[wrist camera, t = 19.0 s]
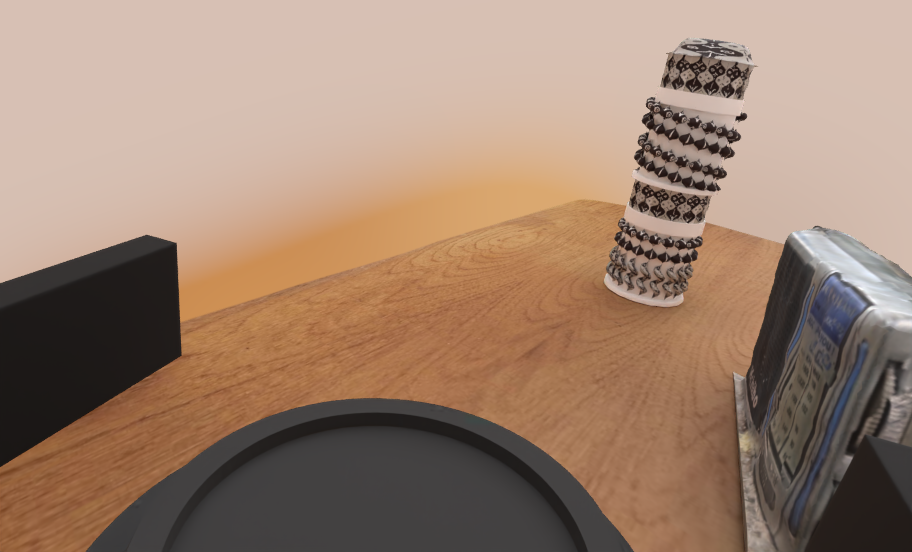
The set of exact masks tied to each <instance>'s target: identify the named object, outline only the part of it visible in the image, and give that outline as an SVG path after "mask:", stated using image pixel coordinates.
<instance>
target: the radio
mask: <svg viewBox="0 0 912 552" xmlns="http://www.w3.org/2000/svg"><path fill="white" fill-rule="evenodd" d="M733 375H734V391H735V406H736V421H737V437H738V452H739V467H740V482H741V498H742V513H743V528H744V543H745V552H805V550H806V548H807V546H808V544H809V542H810V540H811V538H812V536H813V534H814V532H815V530H816V528H817V526H818V524H819V522H820V521H821V519H822V517H823V515H824V513H825V511H826V509H827V507H828V505H829V503H830V501H831V499H832V497H833V495H834V493H835V491H836V489H837V488H838V486H839V484H840V482H841V480H842V478H843V476H844V474H845V472H846V470H847V468H848V466H849V464H850V462H851V460H852V458H853V456H854V455H855V453H856V451H857V449H858V447H859V445H860V443H861V441H862V439H863V437H864V435H865V434H866V435H870V436H873V437H877V438H881V439H884V440H888V441H891V442H895V443H899V444H902V445H906V446H910V447H912V277H911V276H909V274H908V273H906V272H905V271H904V270H903V269H901V268H900V267H899V266H898V265H897V264H895V263H893V262H891V261H889V260H887V259H886V258H885V257H883V256H882V255H878V254H877V253H876V252H874V251H872V250H870V249H869V248H868V247H866V246H865V245H864V244H863V243H861V242H860V241H858V240H857V239H855V238H853V237H852V236H850V235H848V234H845V233H843V232H840V231H836V230H831V229H826V228H822V227H820V226H815V227H813V229H809V230H804V231H796V232H793V233H791V234H790V235H789V236H788V238H787V240H786V242H785V245H784V249H783V252H782V255H781V258H780V260H779V263H778V267H777V270H776V273H775V279H774V284H773V287H772V290H771V294H770V296H769V301H768V304H767V307H766V312H765V316H764V321H763V324H762V327H761V330H760V333H759V337H758V339H757V342H756V345H755V347H754V351H753V357H752V362H751V366H750V368H749V370H748V372H747V375H746V377H745V378H744V377H743V376H741V375H739V374H737V373H735V372H734V371H733Z"/></svg>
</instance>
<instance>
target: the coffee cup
mask: <svg viewBox="0 0 912 552" xmlns="http://www.w3.org/2000/svg"><path fill="white" fill-rule="evenodd" d="M86 552H634V551H633V550H632V548H631V547H630V545H629V544H628V542H627V541H626V540H625V539H624V537H623V536H622V535H621V534H620V532H619V531H618V530H617V529H616V527H615V526H614V525H613V524H612V523H611V522H610V521H609V520H608V519H607V517H606V516H605V515H604V514H603V513H602V511H601V510H600V508H599V507H598V505H597V504H596V502H595V501H594V500H593V499H592V497H591V496H590V495H589V493H588V492H587V491H586V490H585V489H584V488H583V486H582V485H581V484H580V483H579V482H578V481H577V480H576V479H575V478H574V477H573V476H572V475H571V474H570V473H569V472H568V471H567V470H566V469H565V468H564V467H563V466H561V465H560V464H559V463H558V462H557V461H556V460H554V459H553V458H552V457H551V456H549V455H548V454H547V453H545V452H544V451H543V450H541V449H540V448H538V447H537V446H535V445H534V444H532V443H531V442H529V441H527V440H526V439H524V438H522V437H521V436H519V435H517V434H515V433H513V432H512V431H510V430H508V429H506V428H503V427H501V426H499V425H497V424H495V423H492V422H490V421H488V420H485V419H483V418H480V417H477V416H475V415H472V414H469V413H466V412H462V411H459V410H455V409H452V408H448V407H444V406H439V405H435V404H429V403H424V402H417V401H410V400H400V399H383V398H363V399H346V400H336V401H329V402H322V403H317V404H311V405H307V406H303V407H298V408H294V409H291V410H287V411H284V412H281V413H278V414H275V415H272V416H269V417H266V418H264V419H261V420H259V421H256V422H254V423H252V424H249V425H247V426H245V427H243V428H241V429H239V430H237V431H235V432H233V433H231V434H230V435H228V436H226V437H224V438H223V439H221V440H219V441H218V442H216V443H215V444H213V445H212V446H210V447H209V448H207V449H206V450H204V451H203V452H202V453H200V454H199V455H198V456H196V457H195V458H194V459H193V460H191V461H190V462H189V463H188V464H187V465H185V466H183V467H182V468H180V469H179V470H177V471H175V472H174V473H172V474H170V475H169V476H168V477H166V478H165V479H163V480H162V481H160V482H159V483H158V484H156V485H155V486H153V487H152V488H151V489H149V490H148V491H147V492H146V493H144V494H143V495H142V496H141V497H139V498H138V499H137V500H136V501H135V502H134V503H132V504H131V505H130V506H129V507H128V508H127V509H126V510H125V511H124V512H122V513H121V514H120V515H119V516H118V517H117V518H116V519H115V520H114V521H113V522H112V523H111V524H110V525H109V526H108V527H107V528H106V529H105V530H104V531H103V532H102V533H101V535H100V536H99V537H98V538H97V539H96V540H95V541H94V542H93V544H92V545H91V546H90V547H89V548H88V550H87V551H86Z"/></svg>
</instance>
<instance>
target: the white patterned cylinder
mask: <svg viewBox="0 0 912 552" xmlns="http://www.w3.org/2000/svg"><path fill="white" fill-rule="evenodd" d="M667 54H669V55H668V59H667V63H666V67H665V70H664V74H663V78H662V82H661V85H660V86H659V87H658V90H657V94H656V97H655V98H653V97H650V98H648V99H647V103H646V107H647V108H648V109H650V111H652V112H649V113H647V114H645V115H644V116H643V119H642V123H643V124H645V126H646V127H647V128H648V129H649V130H650V132H647V133H645V134H642V135H640V136H639V140H638V144H639V145H640V146H641V147H642V149H640V150H638V151H637V152H636V154H635V156H634V159H635V160H637V163H638V164H639V165H640V167H639V168H638V169H635V170H634V171H633V173H632V177H633V178H635V183H634V186H633V190H632V194H631V198H630V201H629V202H628V203H627V206H626V210H625V214H624V218H621V219H620V220H619V223H618V226H619V227H620V228H621V230H622V231H621V232H618V233H616V236H615V238H614V239H615V241H617V244H618V245H617V246H615V247H614V248H613V249H612V250H611V252H610V259H611V261H610V262H609V263H608V265H607V267H606V270H607V273H608V274H606V276H605V280H604V283H605V285H606V286H607V287H608V289H610V290H611V291H613V292H615V293H616V294H618V295H619V296H622V297H624V298H627V299H629V300H632V301H634V302H638V303H642V304H646V305H650V306H660V307H671V306H678V305H679V304H681V303H682V302H683V300H684V298H683V292H685V291H687V290H688V287H687V286H688V284H689V283H688V281H687V279H689V278H691V277H692V272H693V268H692V267H691V265H690V262H692V261H695V260H697V258H698V257H697V256H698V253H697V251H696V250H695V249H694V248H696V247H699V246H701V245H702V241H703V239H702V237H701V236H700V235H702V232H703V229H704V226H705V223H706V221H705V213H706V211H707V210H708V207H709V201H710V198H711V196H713V195H716V194H718V192H719V190H721V189H720V187H719V186H718V185H717V183H716V184H715V181H716V180H718V179H722V178H724V177H725V176H726V175H727V173H726V171H725V170H724V169H723V168H720V165H721V162H722V159H723V157H724V159H727V158H730V157H733V156H734V154H735V152H734V151H733V150H732V149H731V147H727V143H728V141H729V144H730V143H733V142H736V141H739V140H740V138H741V135H740V134H739V133H738V132H737V131H736V130H735V131H734V129H733V125H734V122H735V121H737V120H738V122H740V121H742V120H745V119H746V118H747V114H745V113H742V112H741V111H742V108H743V105H744V102H745V100H743V96H744V92H745V89H746V88H747V86H748V82H749V76H750V74H751V72H752V70H753V68H754V67H757V66H755V65H754V64H753V62H752V59H751V54H750V51H749V49H748V48H747V47H746V46H743V45H740V44H735V43H730V42H724V41H716V40H709V39H698V38H688V39H685V40H684V41H683V42H681V43H680V45H679V46H678V47H677V48H676V49H675V50H674V51H673V52H670V53H667Z"/></svg>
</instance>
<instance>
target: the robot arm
mask: <svg viewBox="0 0 912 552" xmlns="http://www.w3.org/2000/svg"><path fill="white" fill-rule="evenodd" d="M180 356H182V355H181V333H180V310H179V288H178V266H177V244H176V243H174V242H171V241H167V240H164V239H160V238H157V237H153V236H149V235H145V236H142V237H139V238H136V239H133V240H130V241H127V242H124V243H121V244H117V245H115V246H111V247H108V248H106V249H102V250H100V251H96V252H93V253H90V254H87V255H84V256H81V257H79V258H75V259H72V260H69V261H66V262H63V263H60V264H57V265H54V266H51V267H48V268H45V269H42V270H39V271H36V272H33V273H30V274H27V275H24V276H21V277H18V278H15V279H12V280H9V281H6V282H3V283H0V467H1V466H3V465H4V464H6V463H8V462H9V461H11V460H13V459H14V458H16V457H17V456H19V455H21V454H22V453H24V452H26V451H27V450H29V449H30V448H32V447H34V446H35V445H37V444H39V443H40V442H42V441H43V440H45V439H47V438H48V437H50V436H52V435H53V434H55V433H56V432H58V431H60V430H61V429H63V428H65V427H66V426H68V425H69V424H71V423H73V422H74V421H76V420H78V419H79V418H81V417H82V416H84V415H86V414H87V413H89V412H91V411H92V410H94V409H95V408H97V407H99V406H100V405H102V404H104V403H105V402H107V401H109V400H110V399H112V398H113V397H115V396H117V395H118V394H120V393H122V392H123V391H125V390H126V389H128V388H130V387H131V386H133V385H135V384H136V383H138V382H139V381H141V380H143V379H144V378H146V377H148V376H149V375H151V374H152V373H154V372H156V371H157V370H159V369H161V368H162V367H164V366H165V365H167V364H169V363H170V362H172V361H174V360H175V359H177V358H178V357H180ZM805 552H912V447H910V446H906V445H902V444H899V443H895V442H891V441H888V440H884V439H881V438H877V437H873V436H870V435H866V434H865V435H864V437H863V439H862V441H861V443H860V445H859V447H858V449H857V451H856V453H855V455H854V456H853V458H852V460H851V462H850V464H849V466H848V468H847V470H846V472H845V474H844V476H843V478H842V480H841V482H840V484H839V486H838V488H837V489H836V491H835V493H834V495H833V497H832V499H831V501H830V503H829V505H828V507H827V509H826V511H825V513H824V515H823V517H822V519H821V521H820V522H819V524H818V526H817V528H816V530H815V532H814V534H813V536H812V538H811V540H810V542H809V544H808V546H807V548H806V550H805Z"/></svg>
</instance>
